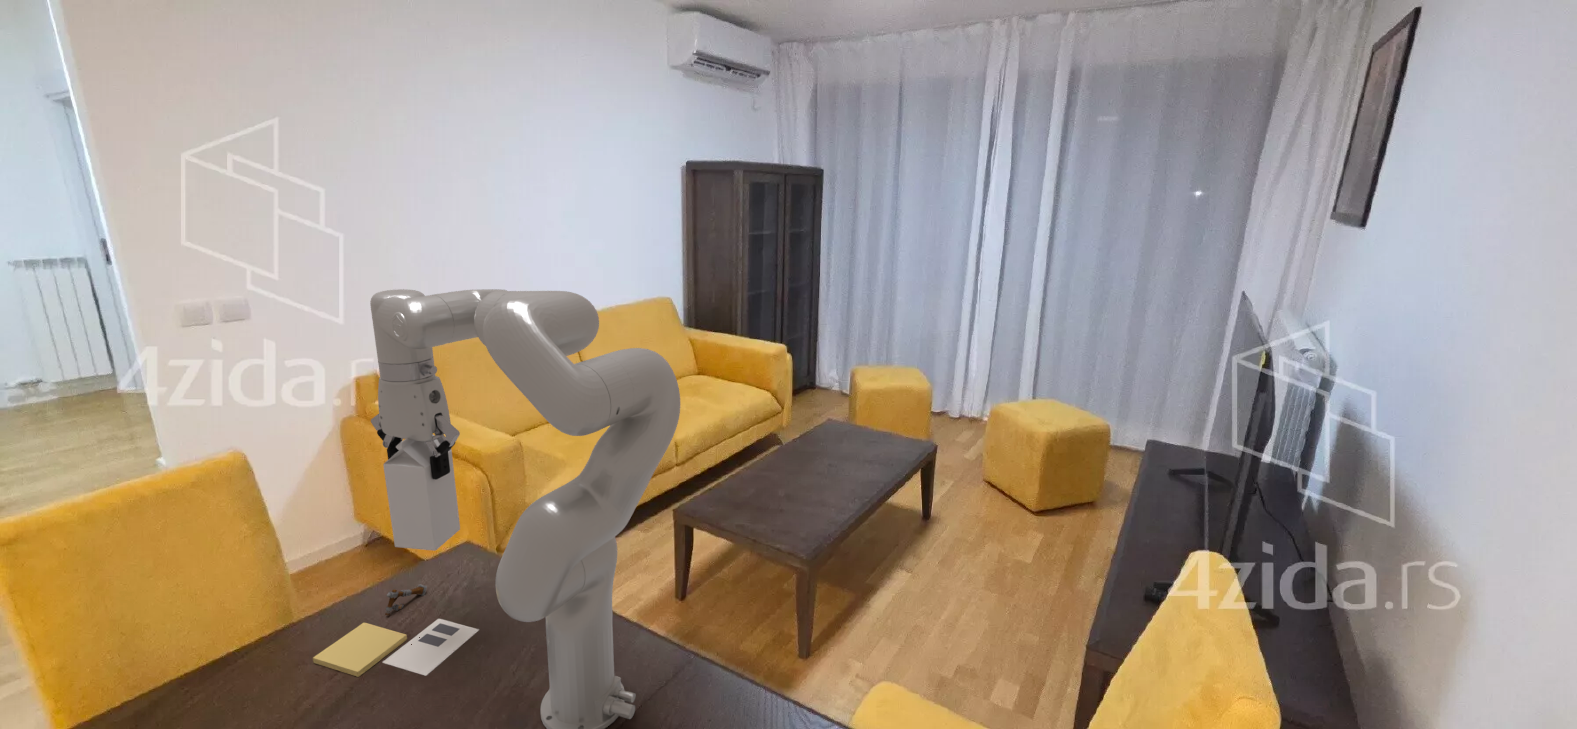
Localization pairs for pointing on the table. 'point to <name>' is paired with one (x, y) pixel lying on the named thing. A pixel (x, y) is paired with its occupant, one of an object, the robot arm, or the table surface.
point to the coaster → (360, 649)
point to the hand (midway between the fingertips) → (420, 471)
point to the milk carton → (420, 498)
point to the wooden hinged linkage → (419, 590)
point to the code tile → (431, 647)
